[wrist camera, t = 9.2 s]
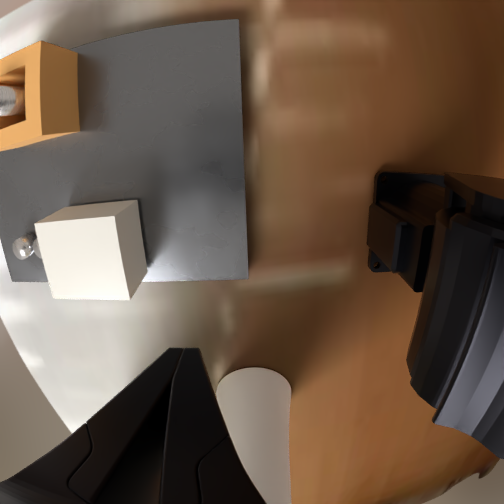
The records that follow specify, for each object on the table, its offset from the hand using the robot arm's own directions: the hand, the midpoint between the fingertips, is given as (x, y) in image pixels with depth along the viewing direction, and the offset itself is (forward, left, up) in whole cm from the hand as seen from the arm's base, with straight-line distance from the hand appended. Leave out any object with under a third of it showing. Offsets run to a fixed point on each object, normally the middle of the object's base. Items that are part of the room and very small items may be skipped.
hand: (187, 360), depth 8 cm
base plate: (+7, -4, -12) cm, 15 cm away
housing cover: (+7, 0, -11) cm, 13 cm away
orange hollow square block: (+10, -9, -11) cm, 17 cm away
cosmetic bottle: (-2, +14, -12) cm, 19 cm away
